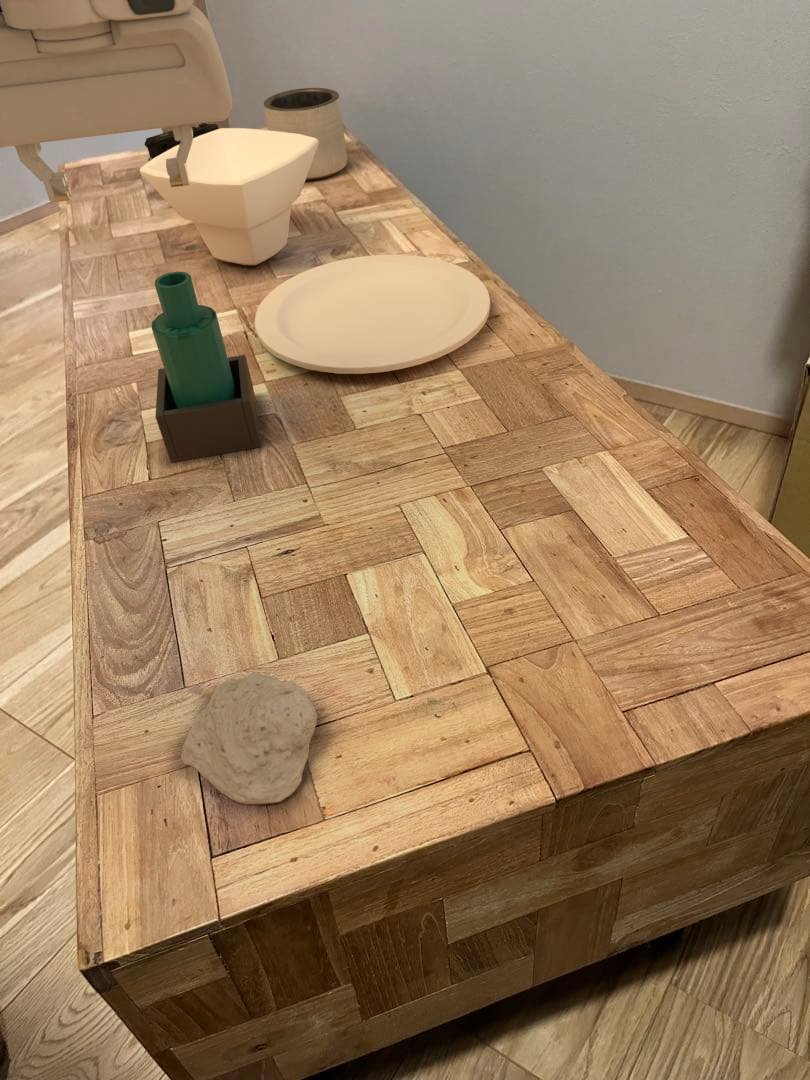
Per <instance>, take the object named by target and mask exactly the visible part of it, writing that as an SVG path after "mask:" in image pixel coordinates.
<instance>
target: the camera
mask: <svg viewBox="0 0 810 1080" xmlns="http://www.w3.org/2000/svg"><path fill="white" fill-rule="evenodd" d="M217 129H220V128H219V124H216V123H208V122H207V123H198V126H197V127H196V126H192V130H193V138H196V137H198V136H200V135H203V134H206V133H209V132H212V131H214V130H217ZM180 142H181V141H176V140H175V138H174V134H173V130H172V129H171V130H170V131H165V132H163V133H160V134H156V135H153V136H149V137H146V138H145V141H144V146H145V148H147V152H148V156H149V157H148V158H147V161H148V162H149V161H151V160H152V159H154V158H155V157H157V156H159V155H161V154H162V153H164V152H166V151H168V150H170V149H171V148H173V147H175V146H177V145H179V144H180Z"/></svg>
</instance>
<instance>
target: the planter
mask: <svg viewBox="0 0 810 1080" xmlns="http://www.w3.org/2000/svg"><path fill="white" fill-rule="evenodd" d="M263 109H264V115H265V121H266V128H267V130H268V131H277V132H286V133H295V134H301V135H305V136H309V137H313V138H316V139H317V140H318V143H319V144H318V147H317V150H316V152H315V155H314V158H313V161H312V163H311V166H310V169H309V172H308V174H307V177H306V180H305V182H306V181H308V182H309V181H316V180H321V179H326V178H328V177H332V176H334V175H336V174H338V173H340V172H341V171H342V170H343V169H344V168H345V167H346V166H347V164H348V153H347V145H346V137H345V130H344V123H343V116H342V106H341V100H340V94H339V92H338V91H336V90H334V89H330V88H325V87H303V88H302V87H301V88H295V89H289V90H284V91H281V92H279V93H275V94H273V95H270V96H269V97H267V98H266V99H265V100H264V101H263Z"/></svg>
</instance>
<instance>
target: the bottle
mask: <svg viewBox="0 0 810 1080" xmlns="http://www.w3.org/2000/svg"><path fill="white" fill-rule="evenodd" d="M154 287H155V291H156V294H157V298H158V300H159V304H160V307H161V311H162V313H160V314H158V315H157V316H156V317H155V318H154V320H153V321H152V322H151V331H152V334H153V337H154V341H155V343H156V348H157V350H158V354H159V357H160V359H161V363H162V366H163V368H164V369H165V372H166V376H167V379H168V382H169V385H170V388H171V391H172V395H173V398H174V401H175V404H176V407H177V409H179V408H185V407H191V406H197V405H203V404H209V403H215V402H221V401H226V400H232V399H238V397H237V393H236V389H235V385H234V381H233V377H232V373H231V369H230V365H229V361H228V354H227V350H226V345H225V342H224V339H223V334H222V330H221V326H220V321H219V318H218V315H217V311H216V310H214V309H213V308H212V307H210V306H207V305H204V304H199V302H198V299H197V295H196V291H195V287H194V283H193V279H192V276H191V274H189V273H188V272H186V271H173V272H171V271H170V272H166V273H164V274H162V275H160V276H158V277H157V278H156V279H155V280H154Z"/></svg>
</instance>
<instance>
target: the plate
mask: <svg viewBox="0 0 810 1080" xmlns="http://www.w3.org/2000/svg"><path fill="white" fill-rule="evenodd" d="M489 293H490V292H489V290H488V288H487V287H486V285H485V283H483V282H482V279H481V280H480V278H479V277H478V276H477V275H475V274H474V273H473V272H471V271H469V270H468V269H466V268H465V267H462V266H460V265H458V264H455V263H451V262H449V261H446V260H442V259H438V258H434V257H428V256H420V255H412V254H374V255H364V256H357V257H350V258H345V259H344V258H343V259H340V260H336V261H331V262H328V263H325V264H321V265H318V266H315V267H312V268H310V269H307V270H305V271H302V272H300V273H298V274H296V275H294V276H292V277H290V278H288V279H286V280H285V281H284V282H282V283H280V284H278V285H277V286H276V287H275V288H273V289H272V290H271V291H270V292H269V293H268V294H267V295H266V296H265V297H264V299H262V301H261V302H260V303H259V306H258V308H257V309H256V312H255V317H254V329H255V333H256V336H257V338H258V340H259V342H260V344H261V345H262V346H263V347H264V348H265V350H266V351H268V352H269V353H270V354H272V355H273V356H275V357H276V358H278V359H279V360H281V361H284V362H285V363H288V364H289V365H294V366H296V367H299V368H302V369H306V370H311V371H316V372H322V373H330V374H340V375H342V374H344V375H345V374H347V375H352V374H353V375H362V374H363V375H364V374H375V373H376V374H377V373H384V372H391V371H398V370H403V369H406V368H411V367H415V366H419V365H422V364H425V363H427V362H431V361H433V360H434V361H435V360H436V359H439V358H441V357H443V356H446V355H448V354H450V353H452V352H455V351H456V350H457V349H459V348H460V347H462V346H463V345H465V344H467V343H468V342H469V341H470V340H471V339H473V338H474V337H475V336H476V335H477V334H478V333H479V332H480V331H481V330H482V328H483V327H484V326H485V324H486V322H487V320H488V319H489V316H490V310H491V299H490V294H489Z"/></svg>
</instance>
